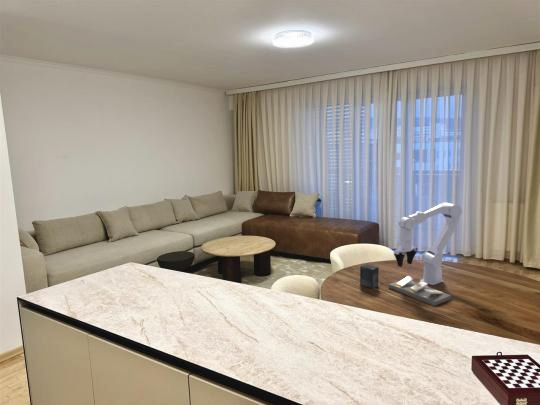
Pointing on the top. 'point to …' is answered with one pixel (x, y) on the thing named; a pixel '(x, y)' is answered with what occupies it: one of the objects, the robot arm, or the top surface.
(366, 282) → the box
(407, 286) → the switch panel
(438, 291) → the rocker
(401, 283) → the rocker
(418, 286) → the rocker
